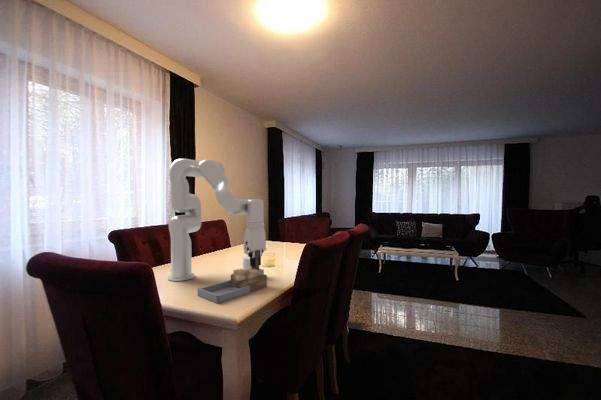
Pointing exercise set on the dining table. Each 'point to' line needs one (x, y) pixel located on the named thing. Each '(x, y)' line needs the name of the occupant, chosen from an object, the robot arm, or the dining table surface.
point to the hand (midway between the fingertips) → (255, 265)
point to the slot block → (251, 282)
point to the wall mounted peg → (260, 271)
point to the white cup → (246, 263)
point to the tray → (222, 292)
